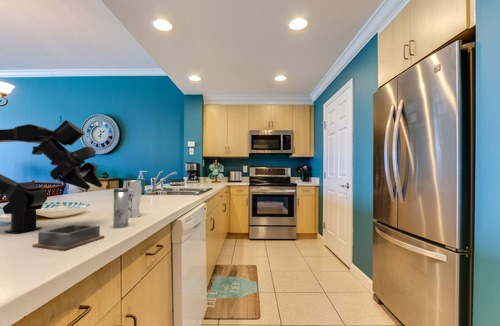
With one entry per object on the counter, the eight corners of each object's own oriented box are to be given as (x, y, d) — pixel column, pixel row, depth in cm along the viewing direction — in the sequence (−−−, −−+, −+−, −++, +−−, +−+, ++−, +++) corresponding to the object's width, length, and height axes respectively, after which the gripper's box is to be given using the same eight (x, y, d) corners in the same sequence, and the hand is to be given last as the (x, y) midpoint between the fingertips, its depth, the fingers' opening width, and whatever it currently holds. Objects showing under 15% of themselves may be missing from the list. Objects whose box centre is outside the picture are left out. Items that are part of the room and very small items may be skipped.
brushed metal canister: (110, 227, 79) (110, 189, 79) (120, 224, 83) (121, 188, 84) (120, 228, 78) (121, 189, 78) (131, 225, 82) (131, 188, 82)
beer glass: (133, 218, 93) (134, 181, 94) (118, 217, 95) (119, 181, 95) (144, 215, 100) (145, 180, 101) (130, 214, 102) (131, 180, 102)
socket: (32, 247, 59) (32, 232, 59) (75, 235, 70) (75, 223, 70) (64, 251, 56) (64, 236, 56) (104, 238, 67) (104, 225, 67)
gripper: (62, 134, 70) (102, 171, 71) (91, 141, 88) (123, 170, 90) (31, 160, 68) (73, 197, 70) (68, 162, 86) (100, 191, 88)
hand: (95, 187), depth 79 cm, fingers open, 9 cm apart
